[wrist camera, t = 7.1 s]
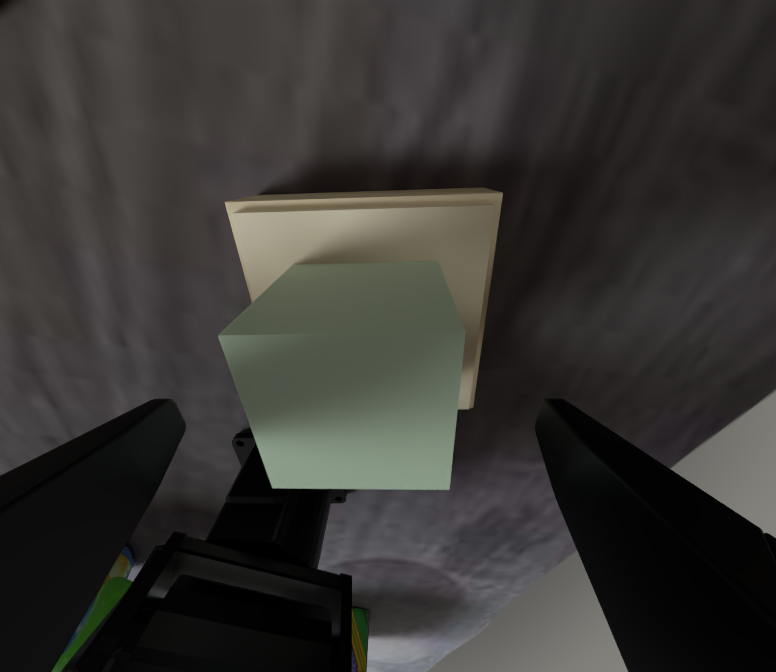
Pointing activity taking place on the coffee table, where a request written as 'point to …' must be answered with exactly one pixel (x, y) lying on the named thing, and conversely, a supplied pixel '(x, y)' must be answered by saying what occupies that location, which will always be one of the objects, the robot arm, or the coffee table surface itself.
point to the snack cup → (100, 605)
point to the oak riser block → (379, 243)
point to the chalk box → (360, 639)
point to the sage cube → (351, 375)
